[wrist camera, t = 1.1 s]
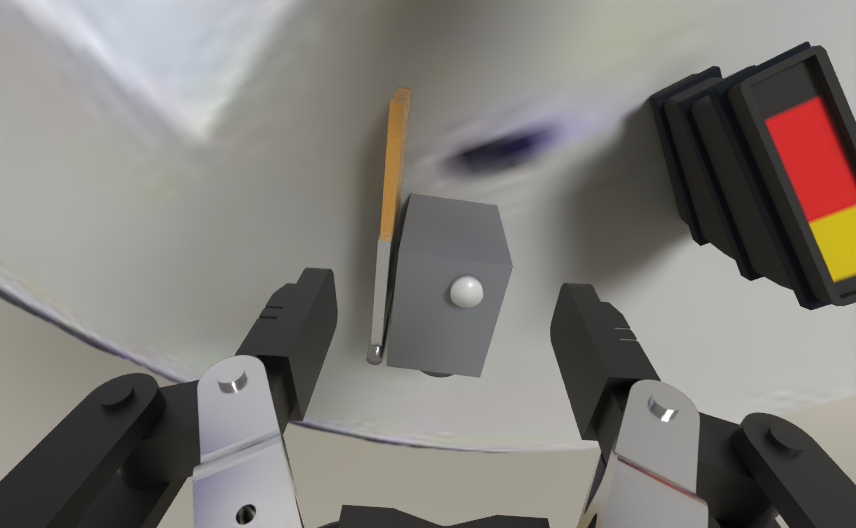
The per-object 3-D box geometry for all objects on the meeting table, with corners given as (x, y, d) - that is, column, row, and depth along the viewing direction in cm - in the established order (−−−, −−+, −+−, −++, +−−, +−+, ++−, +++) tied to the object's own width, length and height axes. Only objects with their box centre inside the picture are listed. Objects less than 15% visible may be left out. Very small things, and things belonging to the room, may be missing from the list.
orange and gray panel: (394, 300, 36) (381, 365, 30) (381, 299, 36) (366, 363, 30) (416, 85, 26) (405, 109, 20) (398, 82, 26) (382, 106, 20)
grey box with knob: (410, 193, 31) (397, 258, 23) (497, 205, 31) (514, 273, 23) (397, 311, 38) (383, 395, 29) (468, 321, 38) (474, 406, 30)
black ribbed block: (693, 263, 31) (828, 318, 17) (627, 113, 31) (709, 41, 17) (745, 243, 30) (936, 285, 16) (677, 87, 30) (811, -13, 15)
